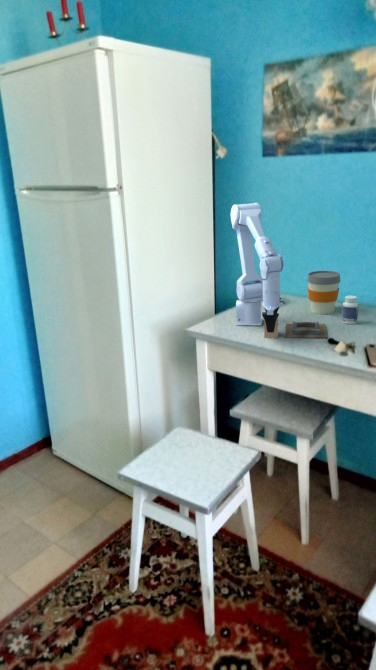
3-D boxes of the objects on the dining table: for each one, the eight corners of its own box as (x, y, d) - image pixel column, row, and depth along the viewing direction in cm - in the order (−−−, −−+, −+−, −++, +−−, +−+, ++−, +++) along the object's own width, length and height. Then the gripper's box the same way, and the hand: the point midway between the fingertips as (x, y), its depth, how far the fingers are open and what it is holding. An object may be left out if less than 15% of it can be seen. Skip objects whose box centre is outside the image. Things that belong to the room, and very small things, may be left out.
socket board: (285, 337, 167) (285, 332, 167) (286, 324, 180) (286, 319, 179) (327, 338, 164) (327, 333, 164) (324, 325, 177) (325, 320, 176)
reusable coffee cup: (306, 305, 201) (307, 270, 196) (338, 306, 198) (340, 270, 193) (305, 315, 190) (306, 277, 185) (339, 316, 186) (341, 278, 181)
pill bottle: (357, 324, 176) (359, 298, 173) (342, 324, 177) (344, 298, 174) (356, 320, 181) (357, 294, 178) (341, 319, 182) (342, 294, 179)
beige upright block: (264, 337, 169) (264, 318, 166) (265, 333, 173) (265, 314, 170) (277, 337, 168) (277, 318, 165) (277, 333, 172) (277, 314, 169)
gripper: (282, 296, 157) (282, 335, 162) (283, 285, 170) (283, 322, 175) (260, 296, 159) (260, 335, 163) (263, 285, 172) (263, 321, 177)
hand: (271, 328), depth 169 cm, fingers open, 7 cm apart
